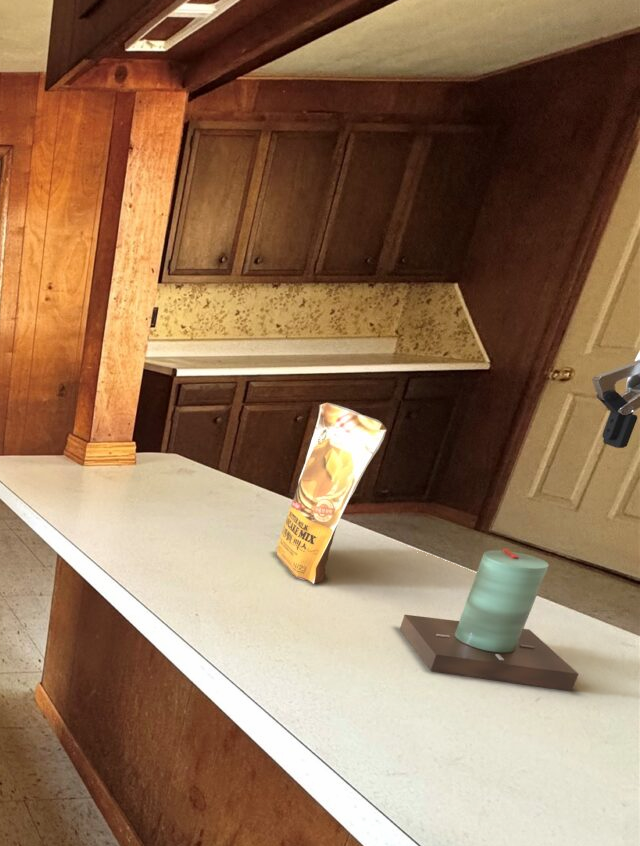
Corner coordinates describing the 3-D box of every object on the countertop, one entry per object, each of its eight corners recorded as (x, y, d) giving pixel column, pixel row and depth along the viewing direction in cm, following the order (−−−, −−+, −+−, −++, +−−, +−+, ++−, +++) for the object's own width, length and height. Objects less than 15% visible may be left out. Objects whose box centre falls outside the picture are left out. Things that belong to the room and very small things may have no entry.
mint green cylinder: (524, 656, 85) (560, 568, 80) (464, 648, 87) (496, 562, 82) (503, 634, 90) (535, 551, 85) (447, 627, 92) (476, 545, 88)
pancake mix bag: (305, 548, 126) (342, 400, 116) (346, 590, 109) (394, 421, 99) (266, 545, 128) (298, 400, 118) (300, 586, 111) (342, 421, 101)
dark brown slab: (523, 645, 92) (530, 628, 91) (571, 691, 82) (579, 673, 81) (399, 629, 97) (404, 613, 96) (430, 671, 87) (436, 653, 86)
